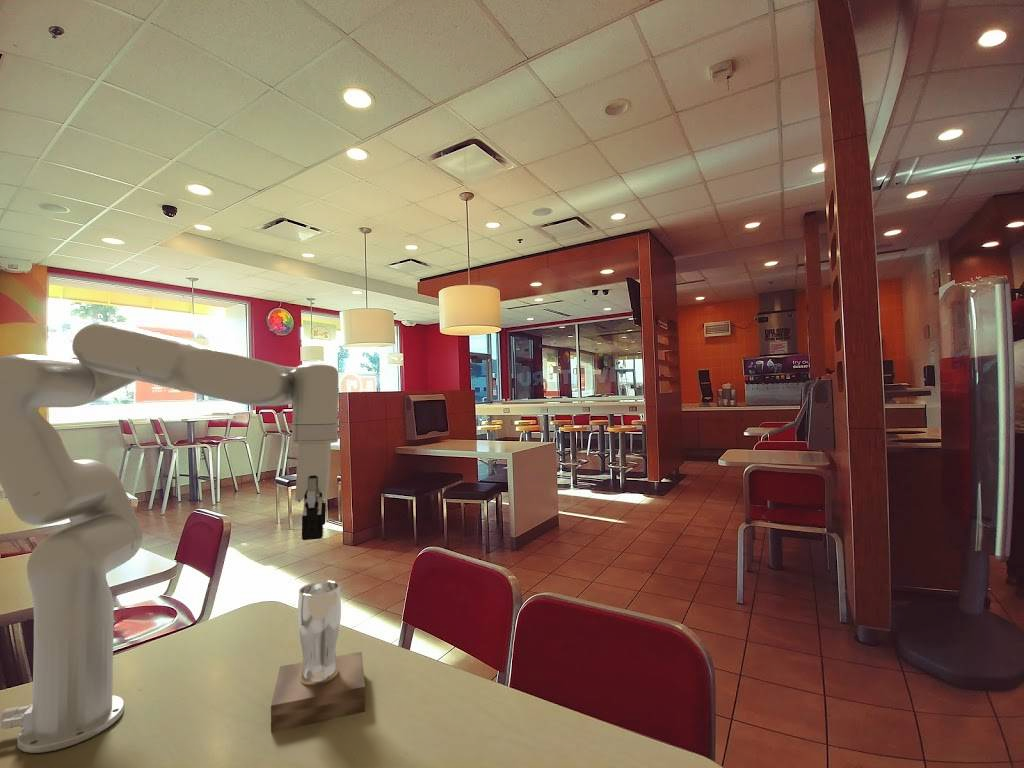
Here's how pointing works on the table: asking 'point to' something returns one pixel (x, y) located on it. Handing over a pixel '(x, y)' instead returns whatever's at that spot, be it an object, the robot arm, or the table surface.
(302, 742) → the table surface
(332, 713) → the walnut shelf
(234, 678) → the table surface
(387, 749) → the table surface
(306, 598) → the beer glass
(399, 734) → the table surface
